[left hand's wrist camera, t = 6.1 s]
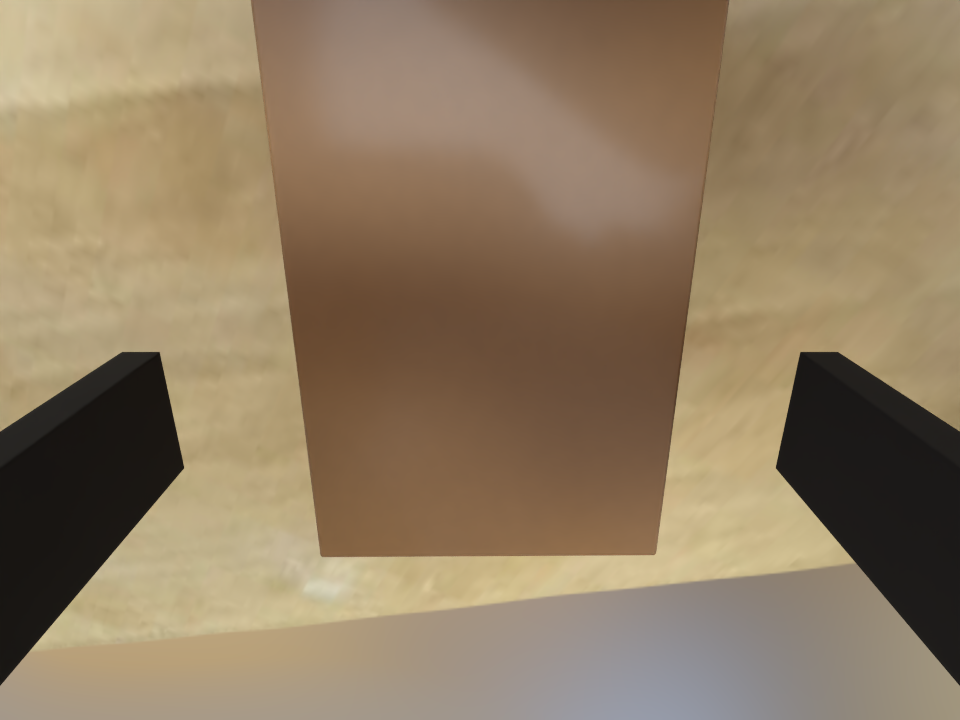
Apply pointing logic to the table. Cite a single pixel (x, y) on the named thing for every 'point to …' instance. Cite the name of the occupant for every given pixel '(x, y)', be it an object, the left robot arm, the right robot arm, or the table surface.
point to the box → (489, 261)
